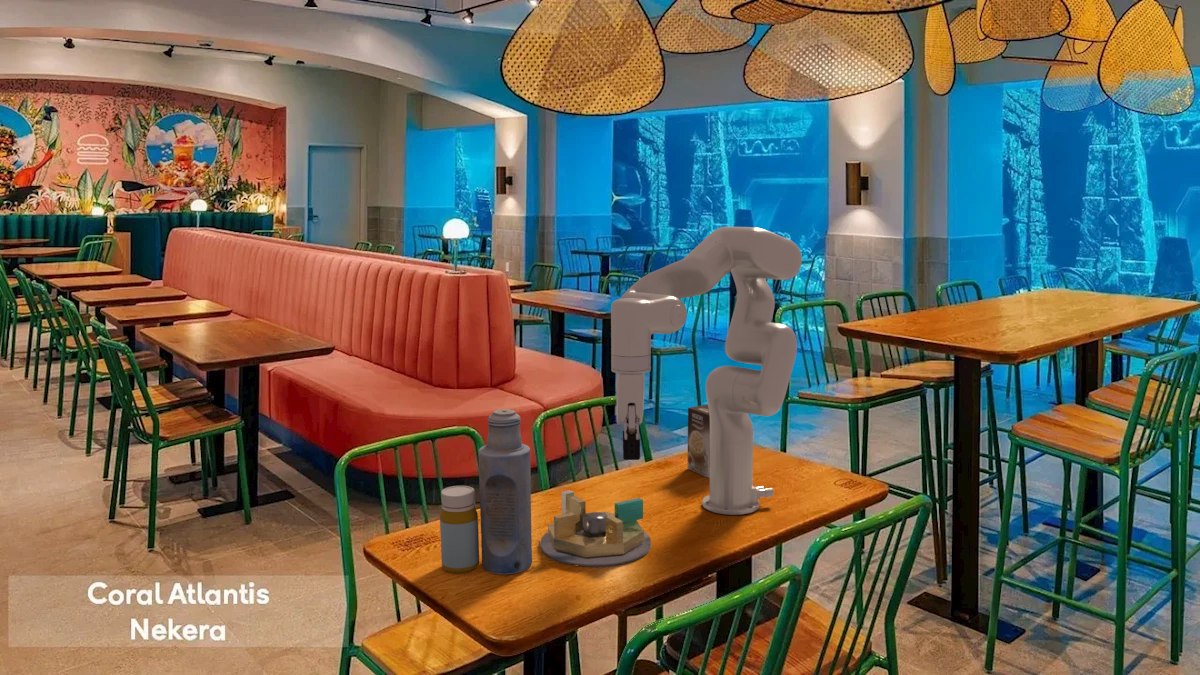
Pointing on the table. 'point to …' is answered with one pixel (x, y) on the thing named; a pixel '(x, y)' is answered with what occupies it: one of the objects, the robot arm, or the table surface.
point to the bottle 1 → (459, 530)
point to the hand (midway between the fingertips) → (631, 454)
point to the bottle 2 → (505, 496)
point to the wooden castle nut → (618, 540)
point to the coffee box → (699, 440)
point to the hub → (592, 528)
